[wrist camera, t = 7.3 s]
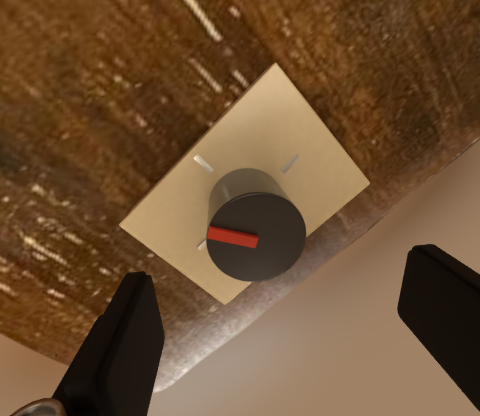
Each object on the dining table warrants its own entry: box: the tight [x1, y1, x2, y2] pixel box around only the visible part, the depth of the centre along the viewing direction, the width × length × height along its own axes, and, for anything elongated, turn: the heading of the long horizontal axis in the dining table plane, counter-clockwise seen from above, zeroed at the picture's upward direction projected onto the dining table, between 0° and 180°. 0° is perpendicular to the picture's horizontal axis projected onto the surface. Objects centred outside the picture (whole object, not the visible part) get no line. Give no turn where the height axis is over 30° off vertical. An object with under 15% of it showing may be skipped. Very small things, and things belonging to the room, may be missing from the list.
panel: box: [119, 63, 370, 305], centre depth 19 cm, size 14×10×3 cm
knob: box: [206, 168, 306, 282], centre depth 15 cm, size 5×5×5 cm
